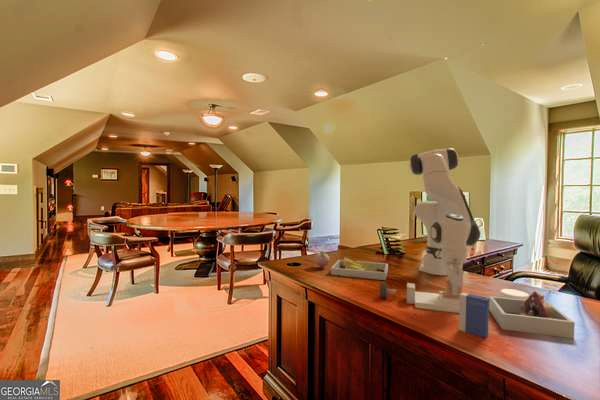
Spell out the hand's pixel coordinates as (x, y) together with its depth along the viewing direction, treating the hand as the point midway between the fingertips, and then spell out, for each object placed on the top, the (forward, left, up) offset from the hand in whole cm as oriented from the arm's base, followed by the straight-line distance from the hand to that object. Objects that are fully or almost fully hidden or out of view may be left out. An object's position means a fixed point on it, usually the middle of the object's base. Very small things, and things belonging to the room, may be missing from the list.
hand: (453, 291), depth 122 cm
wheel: (0, -24, -5) cm, 25 cm away
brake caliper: (+8, +25, -6) cm, 27 cm away
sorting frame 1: (-37, -41, -6) cm, 55 cm away
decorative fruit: (-38, -63, -6) cm, 74 cm away
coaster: (-16, +25, -6) cm, 30 cm away
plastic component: (-38, -41, -6) cm, 56 cm away
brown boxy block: (0, 0, -2) cm, 2 cm away
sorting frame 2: (+8, +22, -6) cm, 24 cm away
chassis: (0, -6, -6) cm, 8 cm away
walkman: (+23, +3, -6) cm, 24 cm away
